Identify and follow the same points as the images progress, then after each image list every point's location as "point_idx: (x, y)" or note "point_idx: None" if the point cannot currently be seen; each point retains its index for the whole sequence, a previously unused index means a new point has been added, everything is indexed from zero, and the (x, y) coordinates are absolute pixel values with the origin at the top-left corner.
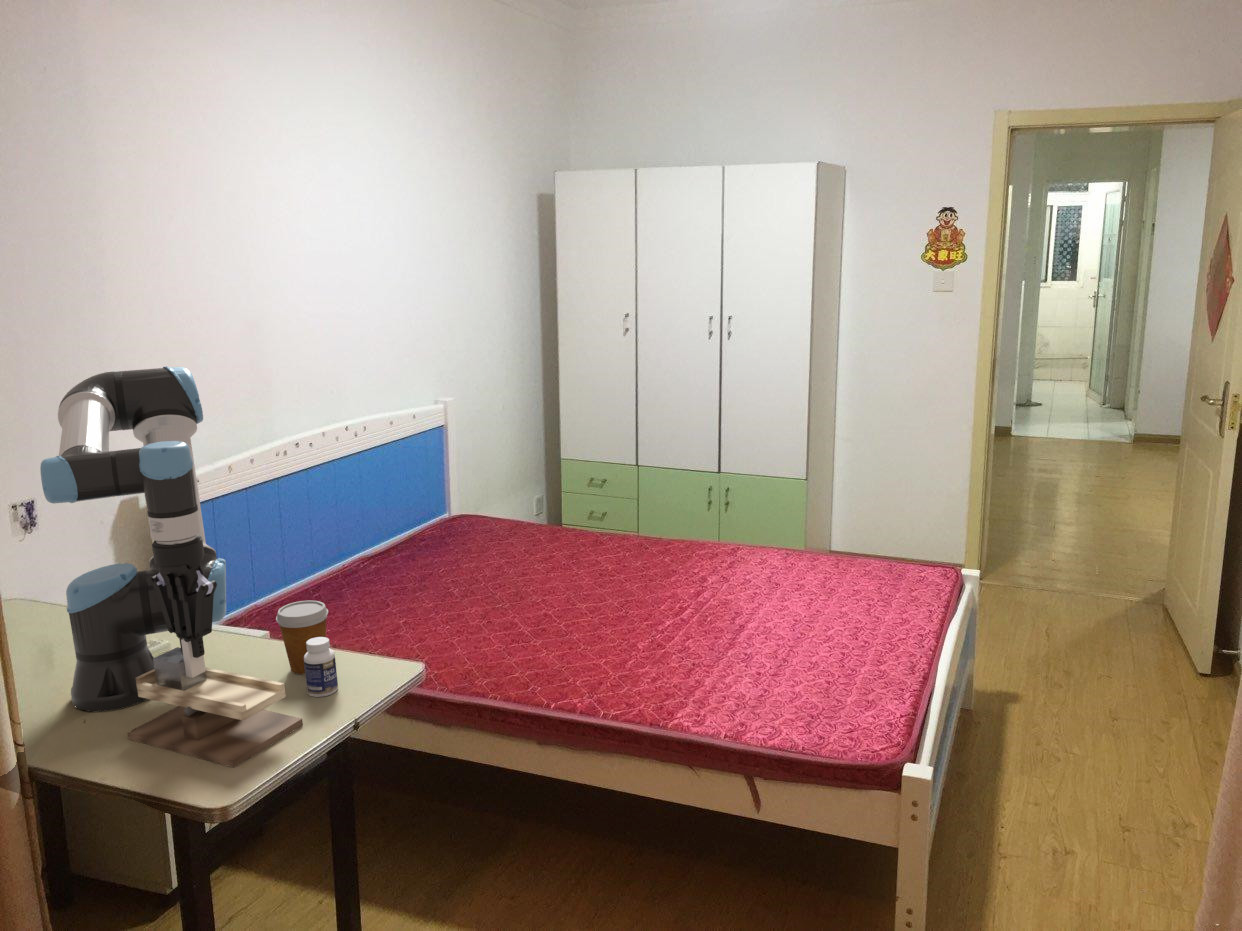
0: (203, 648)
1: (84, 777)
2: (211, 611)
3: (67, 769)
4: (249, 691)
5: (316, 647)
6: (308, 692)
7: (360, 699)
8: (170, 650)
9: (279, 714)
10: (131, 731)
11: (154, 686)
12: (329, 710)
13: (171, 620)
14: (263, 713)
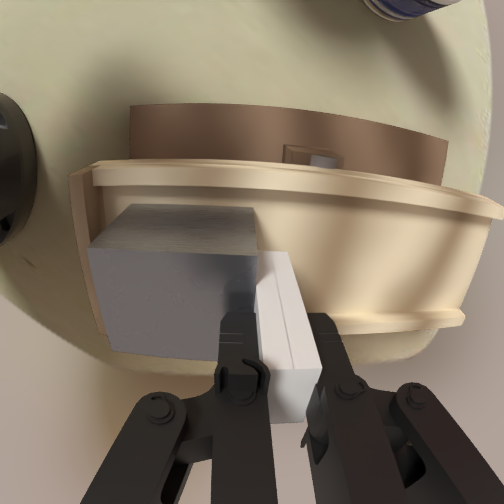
0: (338, 337)
1: (198, 374)
2: (496, 489)
3: (155, 367)
4: (435, 238)
5: None
6: (379, 13)
7: (467, 31)
8: (95, 283)
9: (401, 132)
10: None
11: None
12: (449, 75)
13: (176, 500)
14: (366, 134)
